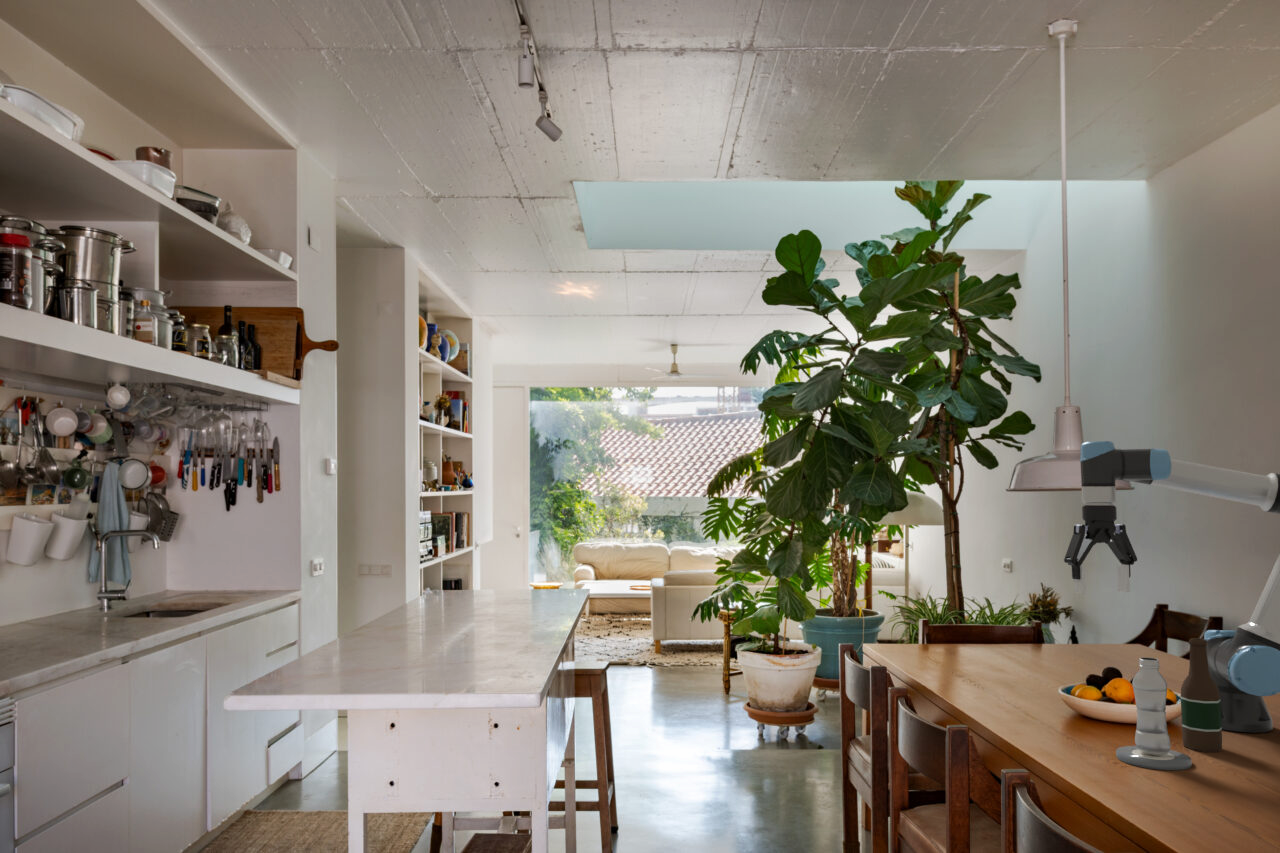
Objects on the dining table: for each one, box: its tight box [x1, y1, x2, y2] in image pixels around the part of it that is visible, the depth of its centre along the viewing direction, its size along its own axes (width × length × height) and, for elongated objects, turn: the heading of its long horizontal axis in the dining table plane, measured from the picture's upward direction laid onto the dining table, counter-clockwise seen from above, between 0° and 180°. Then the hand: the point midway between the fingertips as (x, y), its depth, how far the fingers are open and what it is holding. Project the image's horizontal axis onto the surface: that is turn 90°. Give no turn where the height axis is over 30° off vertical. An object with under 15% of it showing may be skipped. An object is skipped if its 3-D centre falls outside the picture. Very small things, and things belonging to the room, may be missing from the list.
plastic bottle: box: [1131, 656, 1172, 755], centre depth 197 cm, size 6×7×20 cm
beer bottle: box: [1180, 637, 1223, 753], centre depth 207 cm, size 8×8×24 cm
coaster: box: [1115, 745, 1193, 771], centre depth 196 cm, size 14×14×1 cm
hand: (1102, 592), depth 224 cm, fingers open, 13 cm apart
